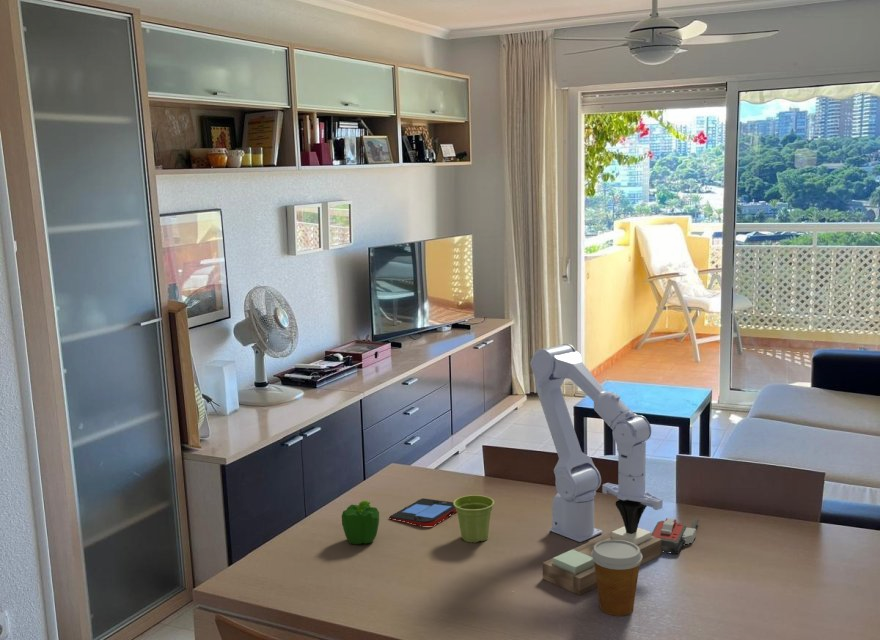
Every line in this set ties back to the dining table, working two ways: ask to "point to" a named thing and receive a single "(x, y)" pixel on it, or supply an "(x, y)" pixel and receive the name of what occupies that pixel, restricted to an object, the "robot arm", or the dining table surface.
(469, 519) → the plant pot
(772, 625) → the dining table surface
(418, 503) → the game console
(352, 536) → the bell pepper
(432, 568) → the dining table surface
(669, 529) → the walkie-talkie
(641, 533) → the cream key
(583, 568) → the sage key
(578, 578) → the key base
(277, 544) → the dining table surface
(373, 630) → the dining table surface
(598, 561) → the disposable coffee cup
